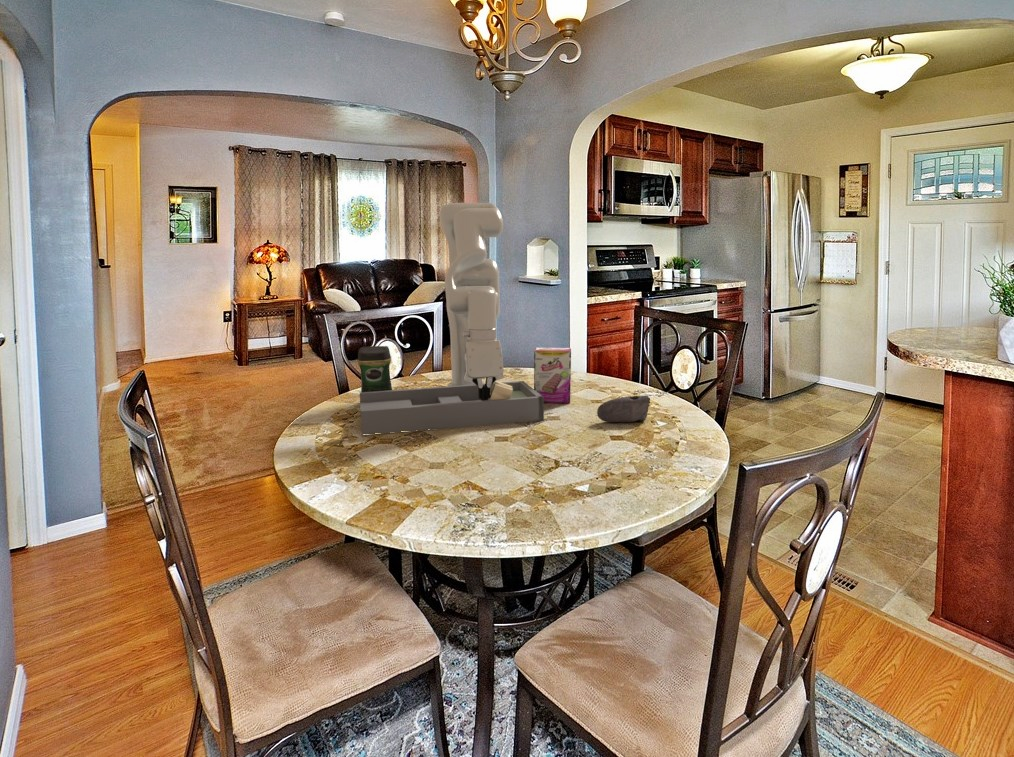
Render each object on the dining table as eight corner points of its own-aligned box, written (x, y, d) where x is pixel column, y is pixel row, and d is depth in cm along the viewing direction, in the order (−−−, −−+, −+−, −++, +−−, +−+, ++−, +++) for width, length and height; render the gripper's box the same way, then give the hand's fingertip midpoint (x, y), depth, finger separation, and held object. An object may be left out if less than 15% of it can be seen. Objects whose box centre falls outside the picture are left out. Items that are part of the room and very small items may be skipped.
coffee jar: (395, 403, 190) (391, 343, 186) (392, 410, 183) (389, 348, 179) (363, 404, 190) (359, 344, 185) (359, 411, 182) (355, 349, 178)
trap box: (361, 414, 179) (359, 392, 177) (523, 401, 190) (523, 380, 188) (362, 436, 159) (360, 411, 157) (543, 420, 170) (543, 397, 169)
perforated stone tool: (598, 425, 164) (599, 400, 163) (594, 420, 170) (594, 395, 168) (654, 423, 166) (655, 398, 164) (648, 417, 171) (649, 393, 169)
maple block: (489, 397, 173) (495, 380, 172) (506, 402, 173) (512, 386, 172) (489, 401, 168) (495, 384, 167) (507, 407, 168) (512, 390, 167)
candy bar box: (533, 403, 188) (533, 350, 184) (534, 399, 192) (534, 347, 189) (570, 403, 186) (571, 350, 183) (570, 399, 191) (571, 347, 188)
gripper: (457, 338, 162) (459, 406, 166) (513, 335, 165) (514, 402, 169) (453, 334, 169) (455, 399, 173) (506, 331, 172) (507, 395, 176)
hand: (484, 400), depth 171 cm, fingers closed
